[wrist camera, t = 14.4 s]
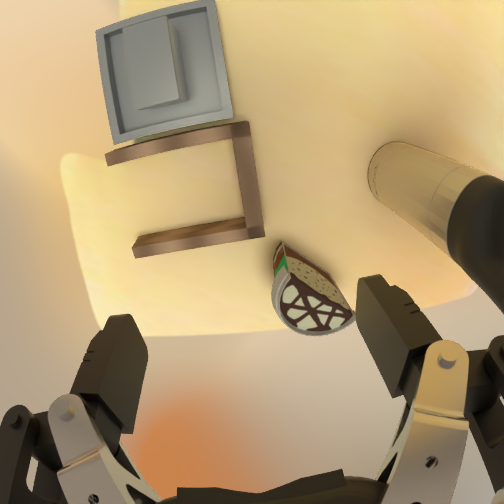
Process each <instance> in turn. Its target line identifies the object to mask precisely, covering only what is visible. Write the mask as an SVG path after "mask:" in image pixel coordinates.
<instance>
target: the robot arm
mask: <svg viewBox="0 0 504 504" xmlns="http://www.w3.org/2000/svg"><path fill="white" fill-rule="evenodd" d="M368 180H369V186H370V189H371V191H372V193H373V194H374V196H375V197H376V198H377V199H378V200H379V201H380V202H382V203H383V204H384V205H386V206H387V207H388V208H390V209H391V210H392V211H394V212H395V213H396V214H397V215H399V216H400V217H401V218H403V219H404V220H405V221H407V222H408V223H409V224H410V225H412V226H413V227H414V228H415V229H417V230H418V231H419V232H420V233H422V234H423V235H424V236H425V237H426V238H428V239H429V240H430V241H431V242H433V243H434V244H435V245H436V246H437V247H439V248H440V249H441V250H442V251H443V252H444V253H446V254H447V255H448V256H449V257H450V258H451V259H452V260H454V261H455V262H456V263H457V264H458V265H459V266H460V267H461V268H462V269H463V270H464V271H465V272H466V273H467V274H468V276H469V277H470V278H471V279H472V280H473V281H474V282H475V283H476V284H477V285H478V286H479V287H481V289H482V290H483V291H484V292H485V293H486V294H487V295H488V296H489V297H490V298H491V299H492V301H493V302H494V303H495V304H496V305H497V306H498V308H499V309H500V310H501V311H502V313H503V314H504V181H502V180H500V179H498V178H496V177H494V176H491V175H489V174H487V173H484V172H482V171H480V170H477V169H475V168H473V167H470V166H467V165H465V164H462V163H460V162H457V161H455V160H452V159H449V158H447V157H444V156H441V155H439V154H436V153H433V152H430V151H427V150H424V149H421V148H418V147H415V146H412V145H409V144H406V143H402V142H392V143H388V144H386V145H385V146H383V147H381V148H380V149H379V150H378V151H377V152H376V154H375V155H374V156H373V159H372V161H371V163H370V166H369V172H368ZM355 315H356V322H357V325H358V329H359V331H360V333H361V335H362V337H363V338H364V341H365V343H366V345H367V347H368V349H369V351H370V353H371V355H372V357H373V359H374V360H375V363H376V365H377V367H378V369H379V371H380V373H381V375H382V377H383V379H384V381H385V383H386V386H387V388H388V390H389V392H390V394H391V396H392V398H395V397H398V396H401V395H404V397H405V399H406V403H405V405H404V409H403V412H402V415H401V418H400V421H399V424H398V427H397V430H396V433H395V436H394V438H393V441H392V444H391V447H390V449H389V452H388V454H387V456H386V458H385V460H384V462H383V464H382V466H381V468H380V470H379V472H378V474H377V477H376V479H375V480H373V479H369V478H364V477H354V476H344V474H343V470H342V469H339V470H336V471H332V472H327V473H323V474H318V475H314V476H309V477H304V478H300V479H298V480H295V481H293V482H290V483H288V484H285V485H283V486H280V487H277V488H275V489H272V490H269V491H266V492H263V493H248V492H240V491H233V490H228V489H222V488H216V487H212V488H179V487H178V488H177V496H174V497H171V498H167V499H164V500H163V499H162V498H161V497H160V496H159V495H158V494H157V493H156V492H155V491H154V490H153V489H152V488H151V487H150V486H149V484H148V483H147V482H146V481H145V479H144V478H143V476H142V475H141V473H140V472H139V470H138V469H137V467H136V466H135V464H134V462H133V461H132V459H131V458H130V456H129V454H128V453H127V451H126V449H125V448H124V446H123V444H122V443H121V442H120V435H121V433H123V434H133V430H134V424H135V419H136V414H137V409H138V404H139V398H140V394H141V389H142V384H143V380H144V375H145V371H146V366H147V362H148V350H147V346H146V344H145V342H144V340H143V338H142V336H141V334H140V331H139V329H138V327H137V325H136V323H135V321H134V319H133V317H132V316H131V315H130V314H122V315H113V316H110V317H109V318H108V320H107V322H106V324H105V327H104V329H103V330H100V331H99V332H98V333H97V334H96V336H95V337H94V338H93V339H92V340H91V342H90V344H89V347H88V349H87V353H86V354H85V356H84V358H83V362H82V363H81V365H80V368H79V370H78V373H77V375H76V378H75V381H74V383H73V386H72V388H71V391H70V393H69V394H66V395H62V396H60V397H59V398H57V399H56V400H55V401H54V402H53V403H52V404H51V406H50V408H49V411H46V412H42V413H37V414H32V413H31V412H30V411H29V410H28V409H27V408H26V407H25V406H23V405H16V406H14V407H12V408H10V409H9V410H8V411H7V413H6V414H5V416H4V418H3V420H2V423H1V426H0V504H450V503H451V499H452V496H453V493H454V489H455V486H456V483H457V479H458V476H459V472H460V468H461V464H462V460H463V454H464V450H465V446H466V440H467V435H468V429H469V428H470V430H471V433H472V435H473V437H474V439H475V442H476V444H477V446H478V449H479V451H480V454H481V456H482V459H483V461H484V464H485V466H486V469H487V471H488V474H489V477H490V480H491V482H492V485H493V488H494V491H495V496H494V498H493V500H492V503H491V504H504V405H503V404H502V402H501V400H500V396H502V397H503V399H504V335H501V336H497V337H495V338H494V339H493V340H492V341H491V343H490V345H489V347H488V349H485V350H475V351H465V349H464V348H463V347H462V346H461V345H460V344H458V343H456V342H454V341H450V340H443V339H442V338H441V336H440V335H439V334H438V332H437V331H436V330H435V328H434V327H433V325H432V324H431V323H430V321H429V320H428V319H427V318H426V316H425V315H424V314H423V313H422V312H421V311H420V308H419V307H418V306H417V304H415V303H414V301H413V299H412V298H411V297H410V296H409V294H408V293H407V292H406V291H404V290H402V289H401V288H399V287H397V286H396V285H394V286H389V284H388V283H387V282H386V280H385V279H384V278H383V277H382V275H380V274H377V275H372V276H368V277H363V278H359V280H358V286H357V300H356V312H355ZM463 415H464V417H465V418H464V417H463ZM31 456H32V457H33V458H35V459H36V460H37V461H38V467H37V472H36V476H35V481H34V486H33V491H32V492H31V491H30V490H29V489H28V487H27V484H26V477H27V473H28V468H29V464H30V460H31Z"/></svg>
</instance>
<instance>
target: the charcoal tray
mask: <svg viewBox="0 0 504 504" xmlns="http://www.w3.org/2000/svg"><path fill="white" fill-rule="evenodd" d="M162 16H167V17H168V19H169V20H170V21H171V23H172V24H173V26H174V27H175V29H176V30H177V31H178V37H179V44H180V50H181V57H182V63H183V69H184V75H185V81H186V87H187V93H188V99H189V101H184V102H180V103H175V104H171V105H167V106H163V107H159V108H155V109H146V110H135V108H134V103H133V97H132V92H131V86H130V80H129V74H128V67H127V60H126V53H125V46H124V38H123V30H122V28H125V27H128V26H131V25H134V24H137V23H141V22H144V21H147V20H151V19H154V18H158V17H162ZM96 41H97V50H98V58H99V65H100V72H101V79H102V85H103V91H104V97H105V103H106V108H107V114H108V119H109V124H110V129H111V133H112V138H113V143H114V145H116V144H119V143H122V142H126V141H129V140H133V139H137V138H140V137H144V136H148V135H152V134H156V133H160V132H164V131H168V130H173V129H177V128H182V127H186V126H191V125H196V124H201V123H206V122H212V121H217V120H223V119H229V118H233V111H232V105H231V99H230V93H229V86H228V80H227V74H226V68H225V62H224V55H223V49H222V43H221V37H220V31H219V24H218V18H217V12H216V6H215V0H199V1H194V2H189V3H184V4H179V5H175V6H171V7H167V8H163V9H159V10H155V11H152V12H148V13H145V14H141V15H138V16H135V17H132V18H129V19H126V20H123V21H120V22H117V23H114V24H111V25H109V26H106V27H103V28H101V29H98V30H96Z"/></svg>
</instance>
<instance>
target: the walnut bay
mask: <svg viewBox="0 0 504 504" xmlns="http://www.w3.org/2000/svg"><path fill="white" fill-rule="evenodd" d="M226 139H232V140H233V147H234V153H235V159H236V165H237V171H238V177H239V184H240V190H241V196H242V202H243V208H244V214H245V217H244V218H238V219H232V220H226V221H220V222H214V223H208V224H203V225H197V226H191V227H186V228H180V229H175V230H169V231H164V232H159V233H154V234H148V235H143V236H139V237H138V238H137V240H136V242H135V243H134V245H133V247H132V250H133V253H134V256H135V259H136V258H141V257H147V256H153V255H159V254H164V253H170V252H176V251H182V250H188V249H194V248H200V247H206V246H212V245H218V244H224V243H230V242H236V241H242V240H248V239H254V238H260V237H265V232H264V225H263V217H262V210H261V203H260V196H259V189H258V182H257V175H256V168H255V161H254V154H253V147H252V141H251V134H250V127H249V122H248V121H242V122H236V123H230V124H224V125H218V126H212V127H207V128H202V129H196V130H191V131H187V132H182V133H177V134H173V135H169V136H164V137H160V138H156V139H152V140H148V141H144V142H140V143H137V144H133V145H129V146H126V147H123V148H119V149H115V150H113V151H111V152H109V153H107V154H105V157H106V162H107V166H111V165H115V164H118V163H122V162H126V161H129V160H133V159H137V158H141V157H145V156H149V155H153V154H157V153H161V152H165V151H170V150H174V149H179V148H184V147H188V146H193V145H198V144H204V143H209V142H214V141H220V140H226Z"/></svg>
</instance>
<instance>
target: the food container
mask: <svg viewBox="0 0 504 504" xmlns="http://www.w3.org/2000/svg"><path fill="white" fill-rule="evenodd" d="M274 275H275V280H274V283H273V286H272V292H271V296H272V303H273V307H274V309H275V311H276V313H277V314H278V316H279V318H280V319H281V320H282V322H283V323H284V324H285V325H286V326H287V327H289V328H290V329H291V330H293V331H295V332H297V333H299V334H302V335H306V336H323V335H329V334H332V333H335V332H338V331H340V330H342V329H344V328H346V327H347V326H349V325H350V324H352V323H353V322H354V321H355V320H356V315H355V312H354V310H353V311H352V309H351V308H350V306H349V305H348V303H347V301H346V300H345V298H344V296H343V295H342V293H341V291H340V290H339V288H338V287H337V285H336V283H335V282H334V280H333V279H332V277H331V275H330V274H329V273H328V272H326V271H325V270H323V269H322V268H320V267H319V266H318V265H316V264H315V263H313V262H312V261H310V260H309V259H307V258H306V257H304V256H303V255H301V254H300V253H298V252H297V251H296V250H294V249H293V248H291V247H290V246H288V245H287V244H285V243H284V242H281V243H280V244H279V246H278V247H277V249H276V252H275V255H274Z"/></svg>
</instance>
